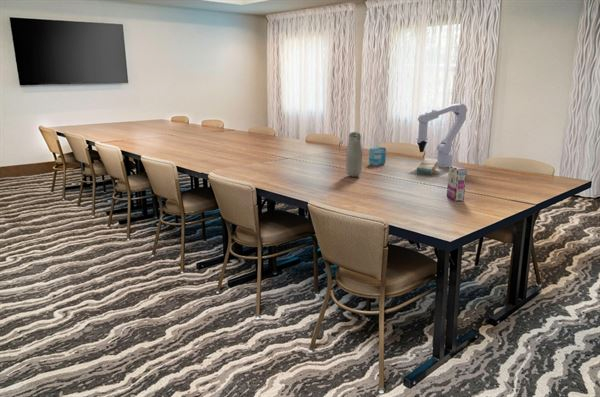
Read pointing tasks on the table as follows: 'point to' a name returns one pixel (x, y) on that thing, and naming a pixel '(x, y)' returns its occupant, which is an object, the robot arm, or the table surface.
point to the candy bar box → (456, 183)
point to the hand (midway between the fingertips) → (421, 152)
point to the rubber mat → (434, 174)
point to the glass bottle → (354, 155)
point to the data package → (377, 156)
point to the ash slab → (427, 167)
